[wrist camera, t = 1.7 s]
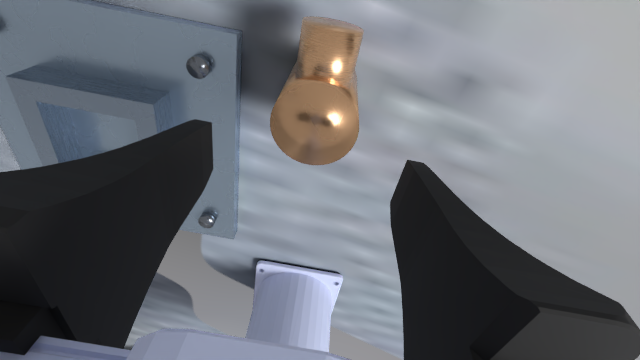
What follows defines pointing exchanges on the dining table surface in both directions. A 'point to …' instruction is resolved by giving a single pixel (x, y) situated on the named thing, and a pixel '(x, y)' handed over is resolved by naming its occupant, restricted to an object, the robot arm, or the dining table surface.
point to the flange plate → (119, 89)
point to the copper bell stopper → (320, 94)
